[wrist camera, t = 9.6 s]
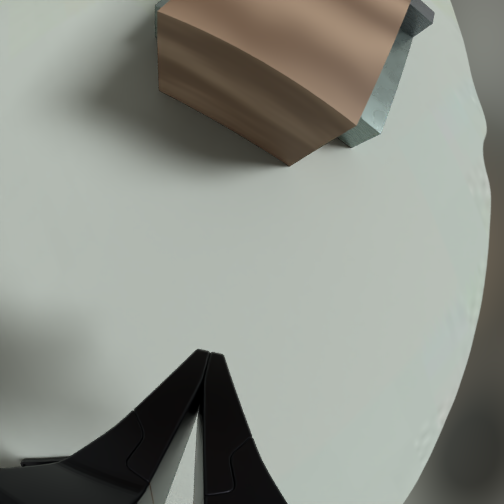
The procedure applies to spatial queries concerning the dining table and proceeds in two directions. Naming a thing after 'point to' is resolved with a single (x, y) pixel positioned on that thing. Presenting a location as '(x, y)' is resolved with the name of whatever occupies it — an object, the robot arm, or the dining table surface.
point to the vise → (381, 74)
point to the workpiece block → (277, 65)
